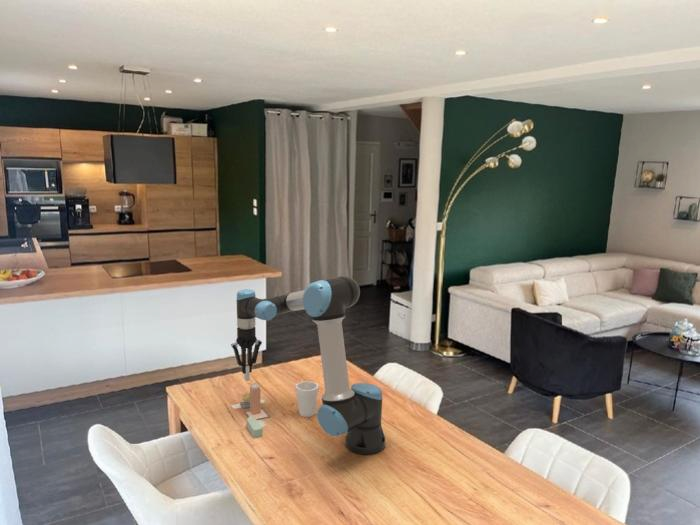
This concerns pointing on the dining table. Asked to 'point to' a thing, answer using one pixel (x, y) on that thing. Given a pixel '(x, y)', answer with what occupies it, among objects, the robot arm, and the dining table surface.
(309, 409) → the foam cup
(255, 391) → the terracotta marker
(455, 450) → the dining table surface
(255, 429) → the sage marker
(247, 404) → the white flat panel
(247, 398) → the button
